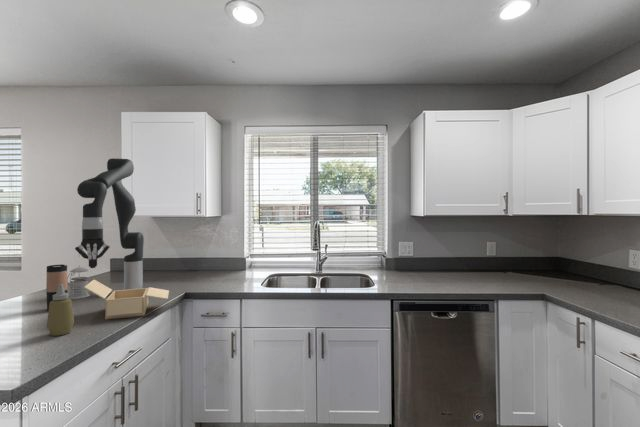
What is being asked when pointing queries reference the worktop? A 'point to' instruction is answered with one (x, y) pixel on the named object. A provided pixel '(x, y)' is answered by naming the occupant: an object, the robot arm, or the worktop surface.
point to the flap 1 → (98, 289)
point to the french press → (78, 284)
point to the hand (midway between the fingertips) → (92, 267)
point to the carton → (126, 303)
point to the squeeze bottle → (60, 313)
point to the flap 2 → (157, 293)
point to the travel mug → (55, 280)
